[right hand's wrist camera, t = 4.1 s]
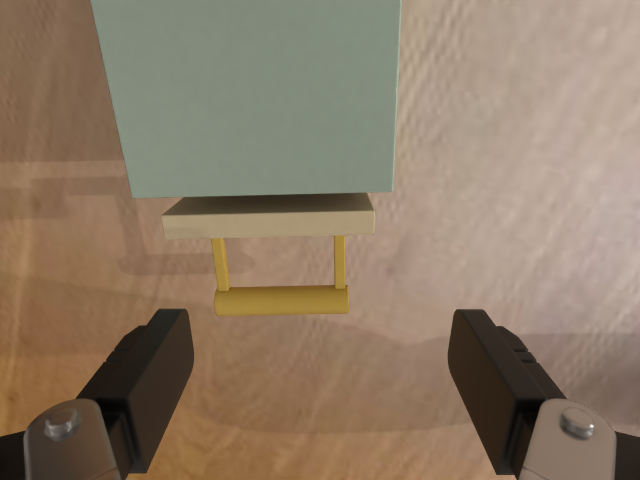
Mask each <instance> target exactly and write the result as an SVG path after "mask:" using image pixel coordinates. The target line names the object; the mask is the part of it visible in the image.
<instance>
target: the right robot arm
mask: <svg viewBox="0 0 640 480" xmlns="http://www.w3.org/2000/svg"><path fill="white" fill-rule="evenodd" d="M193 364H194V348H193V342H192V335H191V328H190V322H189V315H188V312H187V310H186V309H159V310H157V312H156V313H155V314H154V316H153V317H152V318H151V320H150V321H149V323H148V324H147V325H146V326H138V327H137V328H135V329H134V330H133V331H131V332H130V333H128V334H127V335H125V336H124V337H123V339H122V340H121V341H120V342H119V344H118V345H117V346H116V347H115V349H114V351H112V353H111V354H110V355H109V356H108V358H107V359H106V362H104V363H103V364H102V365H101V367H100V368H99V369H98V370H97V372H96V373H95V374H94V376H93V377H92V378H91V379H90V381H89V382H88V383H87V385H86V386H85V387H84V388H83V390H82V391H81V392H80V394H79V395H78V396H77V397H76V399H73V400H69V401H65V402H62V403H59V404H57V405H55V406H53V407H51V408H49V409H47V410H46V411H44V412H43V413H41V414H40V415H39V416H38V417H36V418H35V419H34V420H33V421H32V423H31V424H30V425H29V426H28V428H27V429H26V431H22V432H18V433H14V434H10V435H6V436H1V437H0V480H126V478H127V476H128V474H129V473H147V470H148V468H149V466H150V464H151V461H152V459H153V457H154V455H155V453H156V450H157V448H158V446H159V444H160V441H161V439H162V437H163V435H164V432H165V430H166V428H167V426H168V424H169V421H170V419H171V417H172V415H173V412H174V410H175V408H176V406H177V403H178V401H179V399H180V397H181V395H182V392H183V390H184V388H185V386H186V383H187V381H188V379H189V377H190V375H191V372H192V369H193ZM448 365H449V370H450V373H451V375H452V378H453V380H454V382H455V384H456V386H457V389H458V391H459V393H460V395H461V397H462V400H463V402H464V404H465V406H466V408H467V411H468V413H469V415H470V417H471V419H472V422H473V424H474V426H475V428H476V430H477V433H478V435H479V437H480V439H481V441H482V444H483V446H484V448H485V450H486V452H487V455H488V457H489V459H490V461H491V463H492V466H493V468H494V470H495V472H496V474H497V475H515V477H516V479H517V480H640V437H636V436H632V435H628V434H624V433H620V432H616V431H614V429H613V428H612V426H611V425H610V424H609V423H608V421H607V420H606V419H605V418H604V417H602V416H601V415H600V414H599V413H597V412H596V411H594V410H593V409H591V408H589V407H587V406H585V405H583V404H581V403H578V402H575V401H571V400H567V398H566V397H565V396H564V395H563V393H562V392H561V391H560V389H559V388H558V387H557V386H556V384H555V383H554V382H553V381H552V379H551V378H550V377H549V376H548V374H547V373H546V372H545V370H544V369H543V368H542V367H541V365H540V364H539V363H537V362H536V359H535V358H534V357H533V355H532V354H531V353H530V352H528V349H527V348H526V346H525V345H524V344H523V343H522V341H521V340H520V339H519V337H517V336H516V335H514V334H513V333H512V332H510V331H509V330H507V329H506V328H504V327H503V326H495V324H494V323H493V322H492V320H491V319H490V317H489V316H488V315H487V313H486V312H485V311H484V310H482V309H457V310H456V311H455V313H454V316H453V322H452V329H451V335H450V342H449V349H448Z"/></svg>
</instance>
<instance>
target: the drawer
mask: <svg viewBox="0 0 640 480" xmlns="http://www.w3.org/2000/svg"><path fill="white" fill-rule="evenodd" d="M161 219H162V225H163V230H164V235H165V239H209V238H211V242H212V249H213V256H214V264H215V271H216V278H217V285H218V288H217V290H216V292H215V297H214V308H215V313H216V315H217V316H248V315H298V314H347V313H349V289H348V285H345V235H374V227H375V210H374V208H373V206H372V203H371V201H370V199H369V196H368V194H367V193H327V194H286V195H245V196H204V197H184V198H183V199H181V200H180V201H179V202H178V203H176V204H175V205H174V206H173V207H171V208H170V209H169V210H168V211H166V212H165V213H164V214H163V215H161ZM296 236H334V278H335V285H320V286H273V287H230V281H229V273H228V265H227V257H226V249H225V241H224V238H253V237H296Z"/></svg>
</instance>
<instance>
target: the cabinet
mask: <svg viewBox="0 0 640 480" xmlns="http://www.w3.org/2000/svg"><path fill="white" fill-rule="evenodd" d="M90 2H91V7H92V12H93V16H94V21H95V26H96V30H97V35H98V40H99V44H100V49H101V54H102V58H103V63H104V68H105V73H106V77H107V82H108V87H109V91H110V96H111V101H112V105H113V110H114V115H115V119H116V124H117V129H118V134H119V138H120V143H121V148H122V152H123V157H124V162H125V166H126V171H127V176H128V180H129V185H130V190H131V195H132V198H164V197H204V196H245V195H286V194H327V193H368V192H392V191H393V184H394V162H395V140H396V118H397V95H398V73H399V51H400V29H401V6H402V0H90Z"/></svg>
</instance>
